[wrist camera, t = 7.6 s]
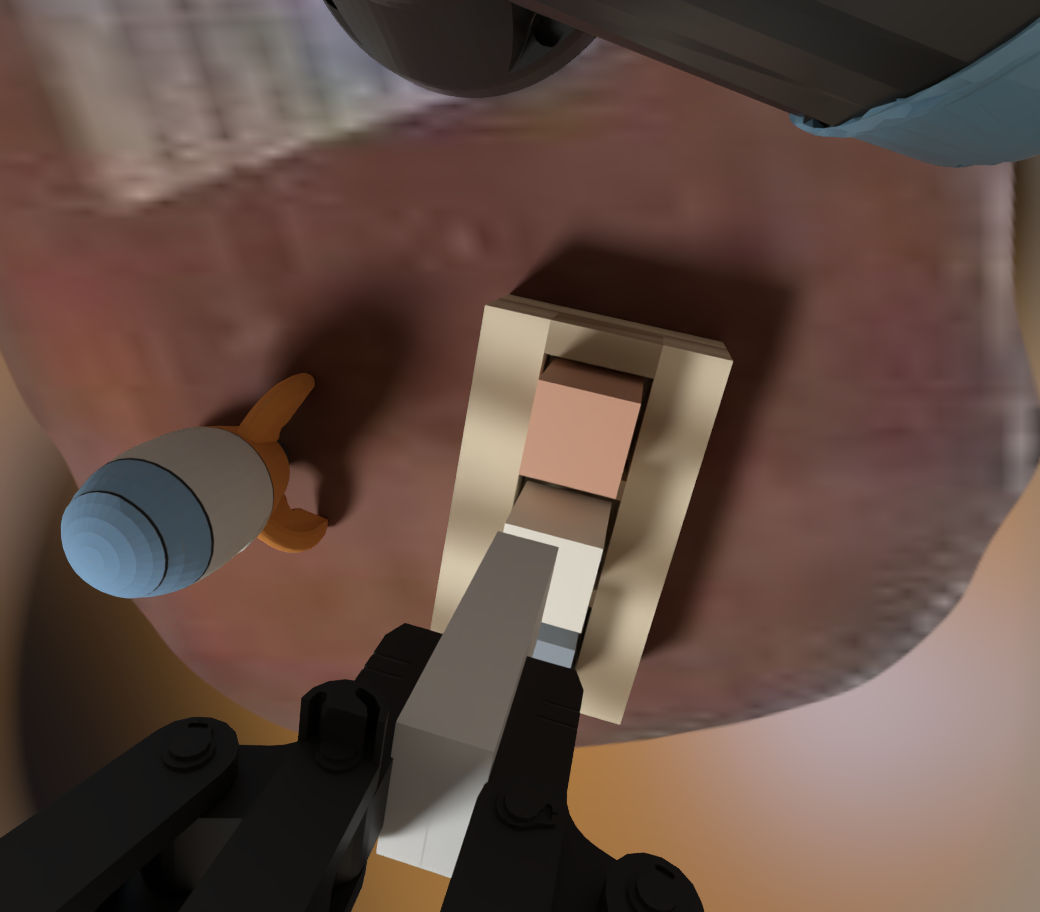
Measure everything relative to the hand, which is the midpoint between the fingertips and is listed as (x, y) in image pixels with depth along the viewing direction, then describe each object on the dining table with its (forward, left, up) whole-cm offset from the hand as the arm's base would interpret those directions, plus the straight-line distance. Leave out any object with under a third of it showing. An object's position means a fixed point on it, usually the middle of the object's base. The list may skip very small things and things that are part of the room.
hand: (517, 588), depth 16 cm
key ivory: (+6, 0, -16) cm, 17 cm away
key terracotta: (0, 0, -17) cm, 17 cm away
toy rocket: (+8, -19, -21) cm, 29 cm away
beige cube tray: (+6, 0, -20) cm, 21 cm away
